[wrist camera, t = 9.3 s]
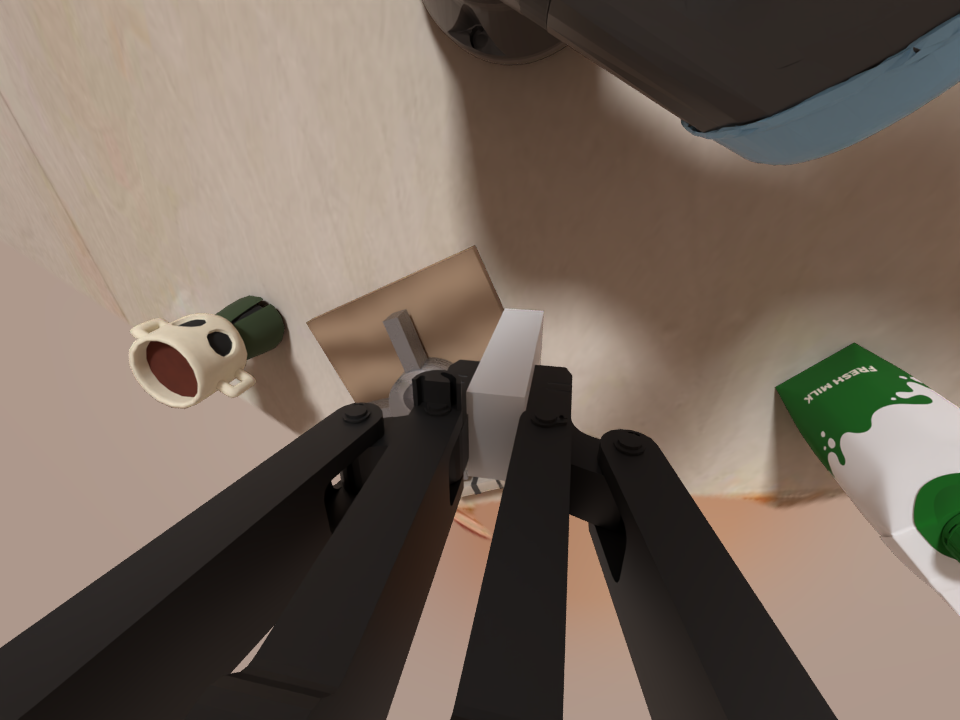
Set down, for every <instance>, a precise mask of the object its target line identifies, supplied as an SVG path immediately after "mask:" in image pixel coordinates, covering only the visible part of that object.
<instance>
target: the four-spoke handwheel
mask: <svg viewBox="0 0 960 720" xmlns="http://www.w3.org/2000/svg"><path fill="white" fill-rule="evenodd" d="M383 324H384V326H385V328H386V331H387V333H388V335H389V337H390V340H391V342H392V344H393V346H394V348H395V351H396V353H397V355H398V357H399V360H400V362H401V364H402V366H403V368H404V372H403V373H402V375H401V376H400V377H399V379H398V380H397V381H396V382H395V384H394V385H393V387H392V388H391V391H390V394H389V398H385V399H380V400H376V401H372V402H367V403H372V404H375V405H377V406H379V407H380V408H381V410H382V411H383V418H386V417H398V416H405V415H409V413H410V411H411V410H412V408H413V407H414V401H413V388H412V378H414V377H415V376H416V375H417V374H420V373H422V372H425V371H430V370H446V371H447V370H448V368H449V366H450V365H452V364H453V363H452V362H450V361H448V360H445V359H442V358H437V357H427V356H426V354H425V352H424V349H423V347H422V345H421V342H420V340H419V337H418V335H417V333H416V330H415V328H414V326H413V323H412V321H411V319H410V316H409V314H408V311H407V309H405V310H401V311H398V312H394V313H392V314H391V315H390V316H388V317H387V318H386V319H385V320H384V321H383ZM468 477H469V476H468V462H467V465H466V468H465V471H464V480H467V479H468Z"/></svg>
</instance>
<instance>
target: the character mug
mask: <svg viewBox="0 0 960 720" xmlns="http://www.w3.org/2000/svg"><path fill="white" fill-rule="evenodd" d="M261 300H263V299H262V298H261V297H255V296H247V297H244V298H241V299H239V300H237V301H235V302H233V303H232V304H230V305H228V306H227V307H225V308H224V309H223V310H221V311H220V312H218V313H217V314H216V315H213V314H205V313H196V314H192V315H187V316H185V317H183V318H180V319H178V320H176V321H174V322H171V323H169V322H167V321H165V320H164V319H161V318H154V319H152V320H149V321H147V322H144V323H142V324H139V325H137V326H135V327H134V328H133V329H131V330H130V333H131V334H132V335H133V337H134V338H136V339H137V340H136V341H134V343H133V345H132V347H131V348H130V350H129V365H130V367H131V370H132V372H133V375H134V377H135V379H136V380H137V381H138V382H139V384H140V385H141V387H142V388H143V389H144V391H145V392H147V393H148V394H149V395H150V396H152V397H153V398H154V399H155V400H157V401H158V402H160V403H162V404H165V405H167V406H169V407H171V408H182V409H185V408H188V407H191V406H193V405H196V404H198V403H200V402H201V401H203V400H204V399H206V398H207V397H209V396H210V395H212V394H213V393H215V392H216V391H218V390H219V391H220V392H222V393H223V394H225V395H226V396H228V397H231V398H235V397H238V396H239V395H241V394H242V393H243V392H245V391H246V390H248V389H249V388H250V387H252V386H253V385H254V384H255V382H256V380H255V378H254V377H253V376H252V375H250V374H249V373H247V372H246V371H244V370H243V369H244V368H245V365H246V360H248V359H251V358H253V357H256V356H258V355H260V354H263V353H265V352H267V351H269V350H272V349H274V348H276V346H277V345H278V344H279V343H280V342H281V340H282V337H283V333H284V329H285V328H284V325H283V321H282V318H281V316H280V314H279V313H278V311H277V310H276V309H275V307H274V306H273V305H271V304H269V305H268V306H266V307H264V308H262V307H261V306H259V305H256V303H258V302H260V301H261ZM154 330H156V331H154ZM152 331H154V332H152ZM150 332H152V333H150ZM234 379H238V380H240V381H241V382H240V383H239V384H237V385H236V386H232V385H231V384H229V383H230V382H231V381H233V380H234Z"/></svg>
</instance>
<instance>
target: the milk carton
mask: <svg viewBox="0 0 960 720" xmlns="http://www.w3.org/2000/svg"><path fill="white" fill-rule="evenodd" d="M775 388H776V390H777V391H778V393H779V395H780V397H781V399H782V401H783V402H784V404H785V406H786V408H787V410H788V412H789V413H790V415H791V417H792V419H793V421H794V423H795V424H796V426H797V428H798V429H799V431H800V433H801V434H802V436H803V437H804V439H805V440H806V442H807V443H808V444H809V446H810V447H811V449H812V450H813V452H814V453H815V454H816V456H817V457H818V458H819V460H820V461H821V462H822V463H823V465H824V466H825V467H826V469H827V470H828V471H829V472H830V474H831V475H832V476H833V478H834V479H835V480H836V481H837V483H838V484H839V485H840V486H841V488H842V489H843V490H844V492H845V493H846V494H847V495H848V497H849V498H850V499H851V501H852V502H853V503H854V504H855V506H856V507H857V508H858V510H859V511H860V512H861V513H862V515H863V516H864V517H865V518H866V520H867V521H868V522H869V523H870V524H871V525H872V526H873V528H874V529H875V530H876V531H877V532H878V533H879V534H880V535H881V536H882V537H881V536H880V538H881V540H882V541H883V542H884V543H885V544H886V545H887V547H888V548H889V549H890V550H891V551H892V552H893V554H894V555H895V556H896V557H897V558H898V559H899V560H900V561H901V562H902V563H903V564H905V566H907V567H908V568H909V569H910V570H911V571H912V572H913V573H914V574H915V575H917V576H918V577H919V578H920V579H922V580H923V581H924V582H925V583H926V584H928V585H929V586H930V587H931V588H933V589H934V590H935V591H936V592H937V593H938V594H939V596H940V597H942V599H943V600H944V601H945V602H946V603H947V604H948V605H949V606H950V607H951V608H952V609H953V610H954V611H955V612H956V613H957V614H958V615H959V616H960V408H959V407H957V406H956V405H954V404H953V403H952V402H950V401H949V400H947V399H946V398H944V397H943V396H941V395H940V394H938V393H937V392H935V391H934V390H932V389H931V388H929V387H928V386H926V385H925V384H923V383H922V382H920V381H919V380H917V379H916V378H914V377H913V376H911V375H910V374H908V373H907V372H905V371H903V370H902V369H900V368H898V367H896V366H895V365H893V364H891V363H889V362H888V361H886V360H884V359H882V358H881V357H879V356H877V355H875V354H873V353H872V352H870V351H868V350H866V349H864V348H863V347H861V346H859V345H858V344H856V343H853V344H851V345H849V346H847V347H846V348H844V349H842V350H840V351H839V352H837V353H835V354H833V355H831V356H830V357H828V358H826V359H824V360H823V361H821V362H819V363H817V364H815V365H814V366H812V367H810V368H808V369H807V370H805V371H803V372H801V373H799V374H798V375H796V376H794V377H792V378H791V379H789V380H787V381H785V382H784V383H782V384H780V385H778V386H776V387H775Z"/></svg>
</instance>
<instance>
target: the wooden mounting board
mask: <svg viewBox="0 0 960 720" xmlns="http://www.w3.org/2000/svg"><path fill="white" fill-rule="evenodd" d="M405 309H407V311H408V314H409V316H410V319H411V321H412V323H413V326H414V328H415V330H416V333H417V335H418V337H419V340H420V342H421V345H422V347H423V349H424V352H425V354H426V356H427V357H437V358H442V359H445V360H448V361H450V362H452V363H455V362H457V361H458V360H471V361H481V359H482V357H483V354H484V352H485V350H486V348H487V346H488V344H489V342H490V339H491V337H492V335H493V333H494V331H495V329H496V326H497V324H498V322H499V320H500V318H501V316H502V314H503V311H504V308H503V306H502V304H501V302H500V299H499V297H498V295H497V293H496V290H495V288H494V286H493V284H492V282H491V279H490V277H489V275H488V273H487V271H486V268H485V266H484V264H483V262H482V259H481V257H480V255H479V253H478V251H477V248H476V246H472V247H470V248H468V249H466V250H463V251H461V252H459V253H457V254H455V255H452V256H450V257H448V258H446V259H444V260H441V261H439V262H437V263H435V264H432V265H430V266H428V267H426V268H424V269H421V270H419V271H417V272H415V273H413V274H410V275H408V276H406V277H404V278H401V279H399V280H397V281H395V282H393V283H390V284H388V285H386V286H384V287H382V288H379V289H377V290H375V291H373V292H370V293H368V294H366V295H364V296H362V297H359V298H357V299H355V300H353V301H351V302H348V303H346V304H344V305H342V306H339V307H337V308H335V309H333V310H331V311H328V312H326V313H324V314H322V315H320V316H317V317H315V318H313V319H311V320H310V321H308V322H306V323H307V325H308V327H309V328H310V330H311V332H312V333H313V335H314V336H315V338H316V340H317V341H318V343H319V344H320V346H321V348H322V349H323V351H324V353H325V354H326V356H327V357H328V359H329V361H330V362H331V364H332V365H333V367H334V369H335V370H336V372H337V374H338V375H339V377H340V378H341V380H342V382H343V383H344V385H345V386H346V388H347V390H348V391H349V393H350V395H351V396H352V398H353V399H354V401H355V403H358V402H359V403H360V402H365V403H367V402H372V401H376V400H380V399H385V398H389V394H390V391H391V388H392V387H393V385H394V384H395V382H396V381H397V380H398V379H399V377H400V376H401V375H402V373H403V372H404V368H403V366H402V364H401V362H400V360H399V357H398V355H397V353H396V351H395V348H394V346H393V344H392V342H391V340H390V337H389V335H388V333H387V331H386V328H385V326H384V324H383V321H384V320H385V319H386V318H387V317H388V316H390V315H391V314H392V313H394V312H398V311H401V310H405ZM504 485H505V481H502V480H495V479H487V478H480V477H473V476H469V477H468V479H467V480H464V489H463V492H462V495H461V497H464V496H468V495H473V494H480V493H481V492H486V491H490V490H495V489H499V488H500V489H501V488H503V487H504Z"/></svg>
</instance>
